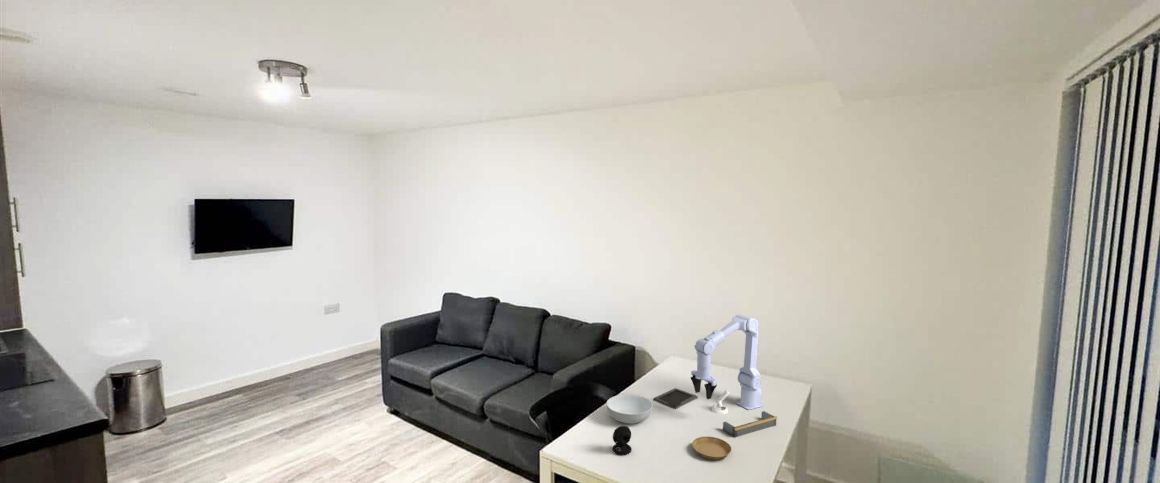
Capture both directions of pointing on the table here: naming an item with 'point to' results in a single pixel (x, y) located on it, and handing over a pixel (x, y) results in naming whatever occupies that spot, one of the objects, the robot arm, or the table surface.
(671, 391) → the picture frame
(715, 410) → the hook
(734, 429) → the tray
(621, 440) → the webcam
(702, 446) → the plant saucer
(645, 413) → the serving bowl
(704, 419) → the table surface
